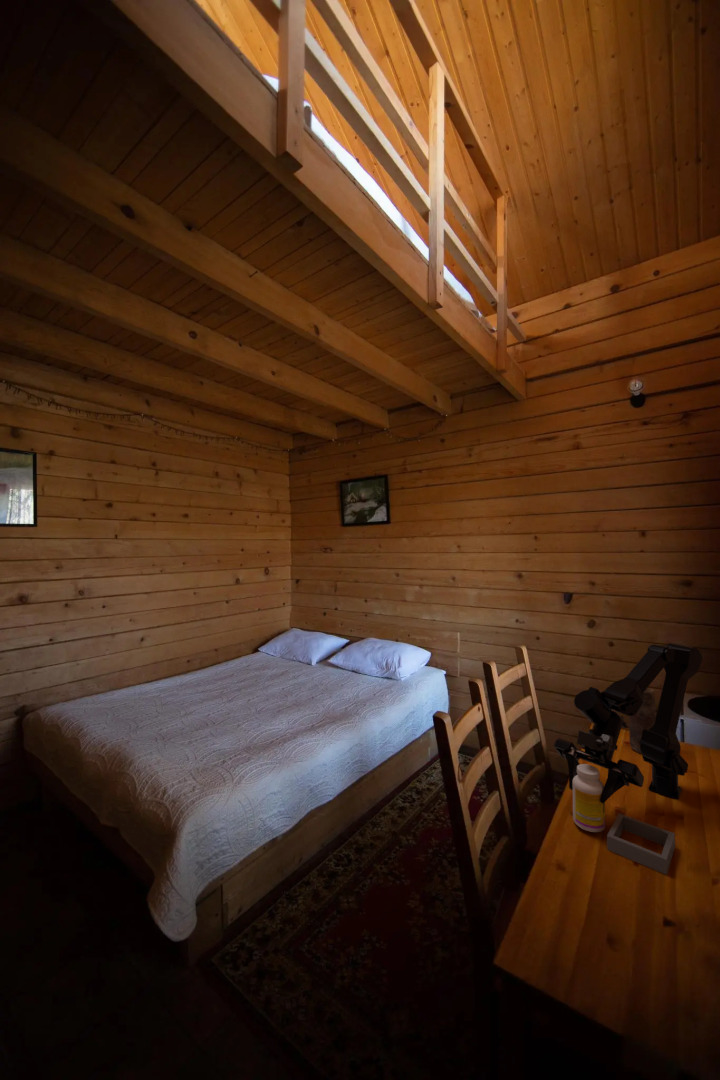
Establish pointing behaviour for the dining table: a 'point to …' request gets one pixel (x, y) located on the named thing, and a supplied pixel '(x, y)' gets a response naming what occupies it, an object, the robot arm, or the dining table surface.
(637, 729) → the candle
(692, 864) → the dining table surface
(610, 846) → the holder
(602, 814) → the supplement bottle
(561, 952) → the dining table surface
